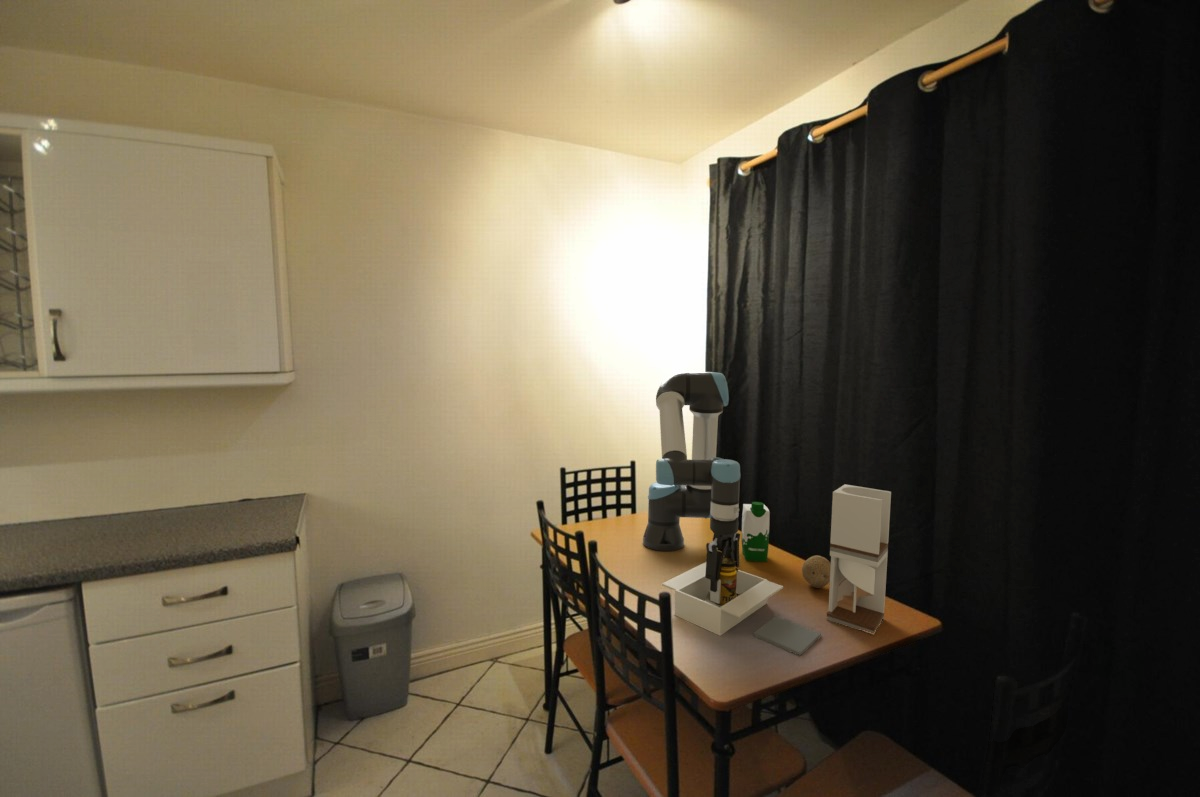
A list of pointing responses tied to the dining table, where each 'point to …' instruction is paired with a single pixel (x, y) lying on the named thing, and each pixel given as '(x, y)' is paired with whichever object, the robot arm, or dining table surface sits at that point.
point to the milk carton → (755, 531)
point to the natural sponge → (817, 571)
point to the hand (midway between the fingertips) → (721, 597)
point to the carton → (713, 618)
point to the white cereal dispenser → (858, 556)
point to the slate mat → (787, 635)
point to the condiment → (726, 582)
